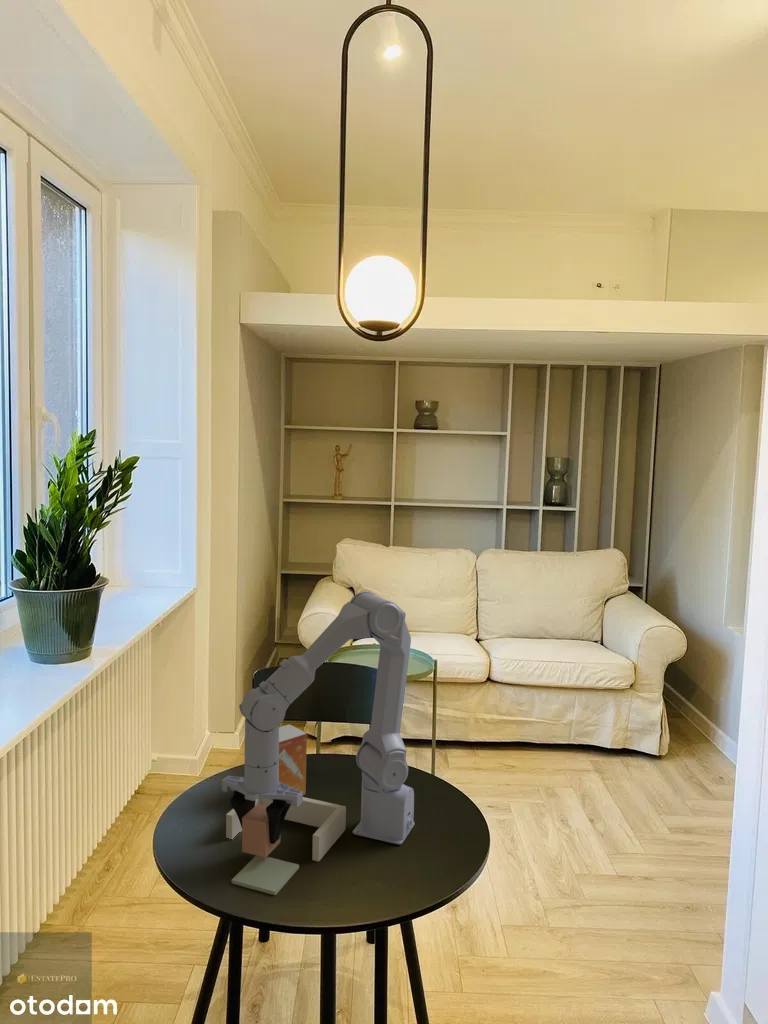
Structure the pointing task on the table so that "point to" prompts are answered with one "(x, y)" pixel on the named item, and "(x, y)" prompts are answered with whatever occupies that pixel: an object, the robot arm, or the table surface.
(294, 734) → the small box
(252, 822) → the block
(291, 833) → the table surface
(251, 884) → the mat
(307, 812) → the u-shaped wall
